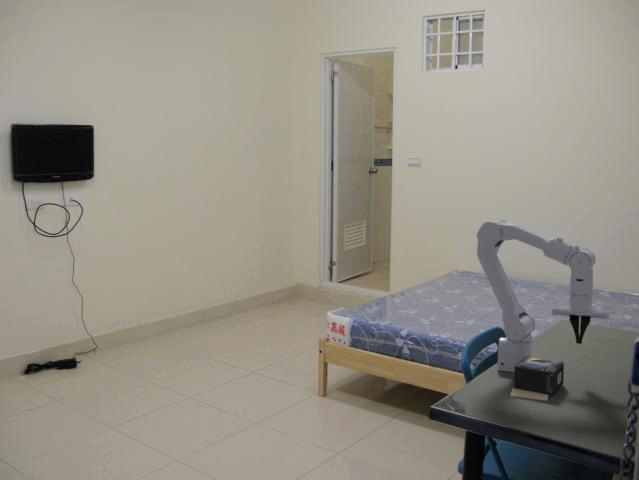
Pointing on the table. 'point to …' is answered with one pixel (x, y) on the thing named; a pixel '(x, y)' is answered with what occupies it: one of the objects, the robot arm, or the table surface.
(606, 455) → the table surface
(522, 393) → the mat
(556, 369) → the small box
